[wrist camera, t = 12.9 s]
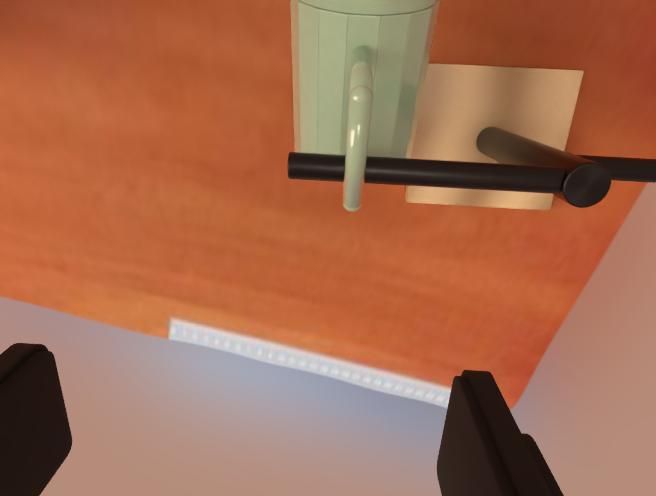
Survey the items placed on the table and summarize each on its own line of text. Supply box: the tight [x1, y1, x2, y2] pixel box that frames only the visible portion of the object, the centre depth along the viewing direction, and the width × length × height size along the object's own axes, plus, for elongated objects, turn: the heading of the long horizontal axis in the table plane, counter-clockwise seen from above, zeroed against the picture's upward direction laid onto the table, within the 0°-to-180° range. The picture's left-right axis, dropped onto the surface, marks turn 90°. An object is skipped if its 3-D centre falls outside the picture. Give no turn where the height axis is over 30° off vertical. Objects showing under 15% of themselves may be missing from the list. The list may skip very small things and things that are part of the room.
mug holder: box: [288, 63, 656, 211], centre depth 26 cm, size 19×10×15 cm, turn 87°
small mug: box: [290, 0, 440, 212], centre depth 22 cm, size 11×7×9 cm
